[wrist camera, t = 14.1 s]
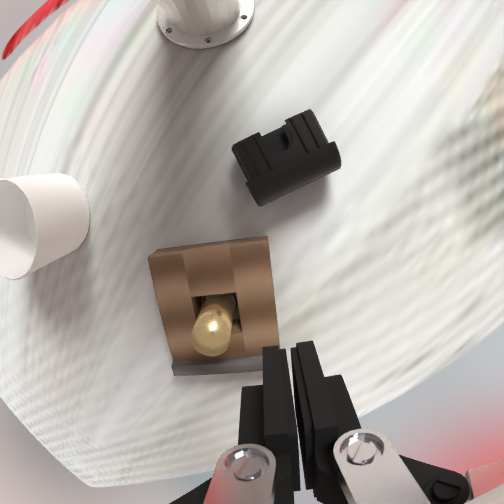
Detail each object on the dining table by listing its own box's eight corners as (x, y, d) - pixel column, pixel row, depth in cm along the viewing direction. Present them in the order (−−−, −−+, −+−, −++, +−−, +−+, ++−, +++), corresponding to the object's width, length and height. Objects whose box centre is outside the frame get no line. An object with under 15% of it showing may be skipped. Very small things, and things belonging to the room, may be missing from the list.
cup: (104, 230, 38) (54, 252, 27) (52, 267, 40) (2, 295, 28) (69, 157, 36) (12, 157, 24) (20, 200, 37) (-34, 212, 26)
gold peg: (202, 289, 40) (187, 324, 31) (233, 286, 40) (225, 321, 30) (208, 316, 41) (194, 357, 31) (237, 314, 41) (232, 355, 31)
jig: (157, 249, 39) (144, 260, 34) (267, 235, 38) (268, 245, 33) (182, 356, 43) (174, 376, 38) (279, 348, 42) (282, 369, 37)
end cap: (258, 203, 37) (259, 210, 31) (232, 151, 36) (226, 147, 29) (332, 168, 36) (348, 168, 30) (306, 116, 35) (317, 105, 28)
